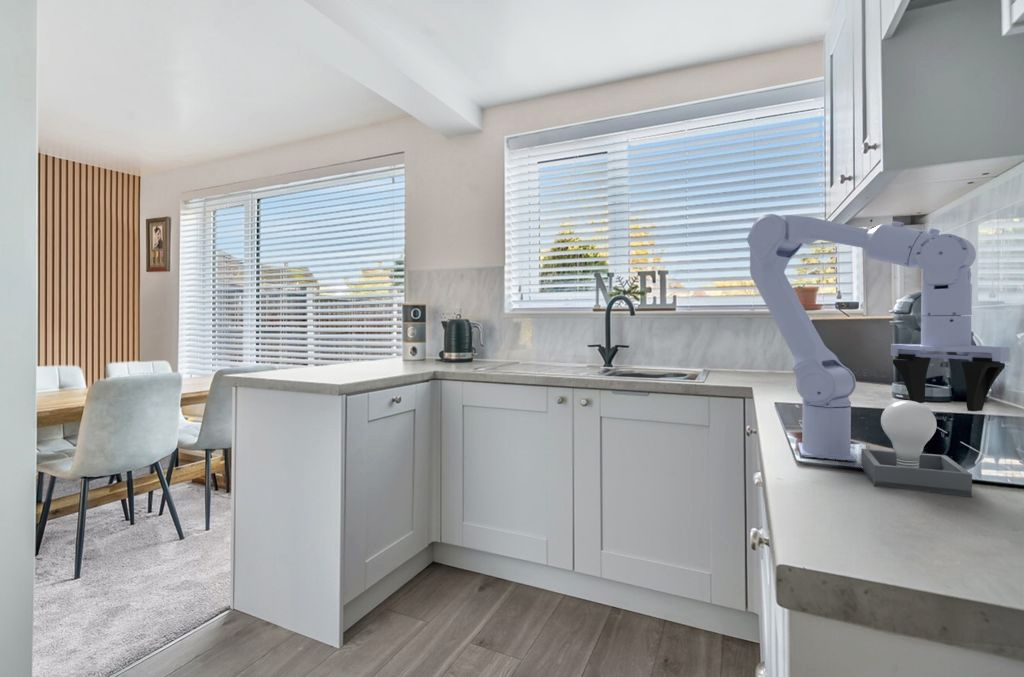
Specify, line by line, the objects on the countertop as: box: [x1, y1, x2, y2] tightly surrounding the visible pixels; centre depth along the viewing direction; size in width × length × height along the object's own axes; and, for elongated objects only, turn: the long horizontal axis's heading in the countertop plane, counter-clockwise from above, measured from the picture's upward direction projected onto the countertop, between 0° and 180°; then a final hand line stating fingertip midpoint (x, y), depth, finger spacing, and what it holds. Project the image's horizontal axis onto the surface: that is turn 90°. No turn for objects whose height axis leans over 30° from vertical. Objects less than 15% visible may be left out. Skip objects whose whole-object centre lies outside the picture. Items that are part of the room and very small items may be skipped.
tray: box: [860, 448, 973, 498], centre depth 74 cm, size 11×11×3 cm
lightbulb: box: [880, 399, 937, 468], centre depth 73 cm, size 6×6×11 cm
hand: (944, 406), depth 76 cm, fingers open, 7 cm apart
